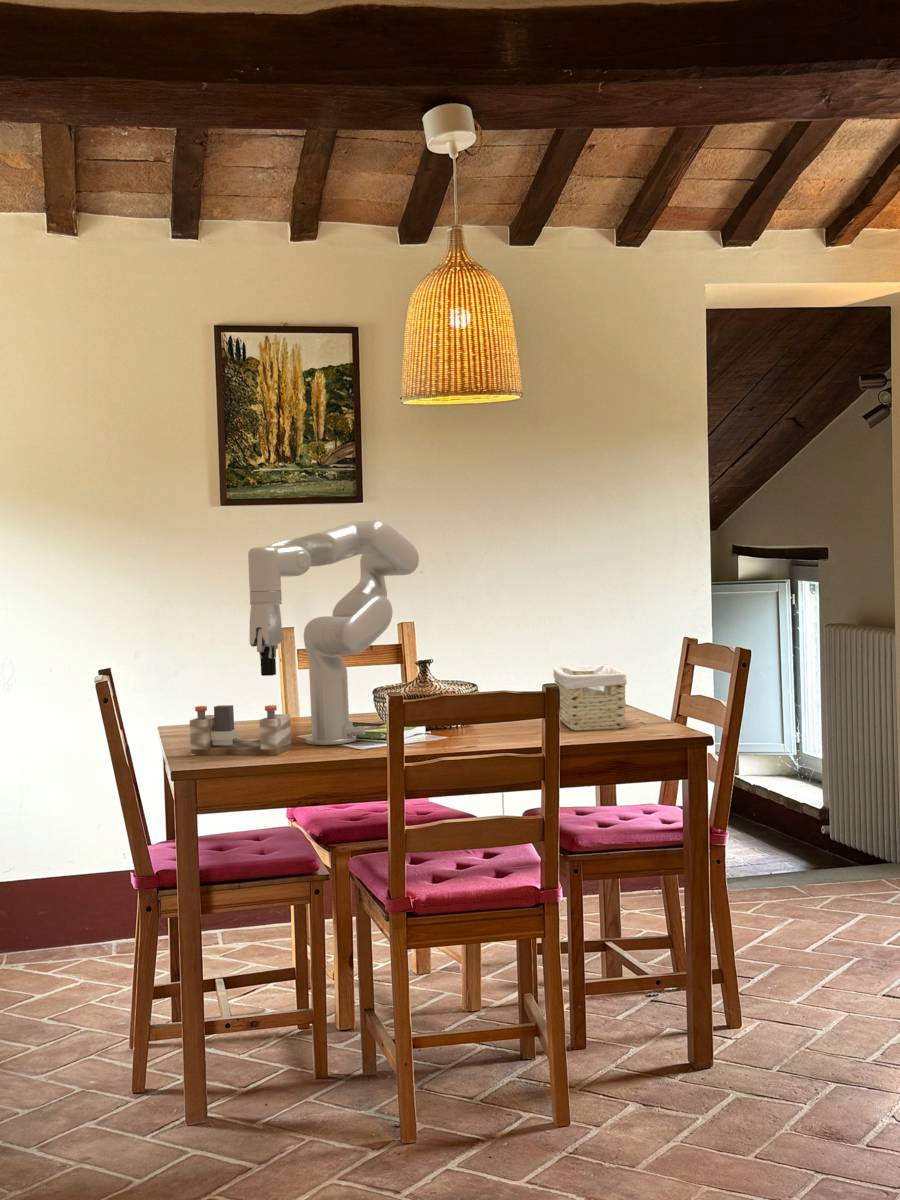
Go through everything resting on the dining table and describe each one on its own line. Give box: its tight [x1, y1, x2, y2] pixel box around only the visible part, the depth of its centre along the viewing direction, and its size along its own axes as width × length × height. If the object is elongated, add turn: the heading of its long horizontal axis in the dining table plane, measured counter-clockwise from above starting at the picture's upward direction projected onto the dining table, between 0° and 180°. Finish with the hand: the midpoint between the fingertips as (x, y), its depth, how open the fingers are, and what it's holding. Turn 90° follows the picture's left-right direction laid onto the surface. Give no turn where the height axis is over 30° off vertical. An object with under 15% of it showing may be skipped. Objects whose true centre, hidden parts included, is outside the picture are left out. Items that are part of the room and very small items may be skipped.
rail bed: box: [189, 713, 292, 756], centre depth 315 cm, size 22×10×8 cm, turn 77°
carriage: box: [211, 704, 239, 745], centre depth 316 cm, size 5×5×9 cm
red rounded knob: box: [194, 705, 208, 720], centre depth 314 cm, size 3×3×4 cm
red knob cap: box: [264, 704, 278, 719], centre depth 310 cm, size 3×3×4 cm
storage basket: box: [552, 664, 628, 732], centre depth 340 cm, size 24×16×15 cm
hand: (268, 675), depth 310 cm, fingers closed
